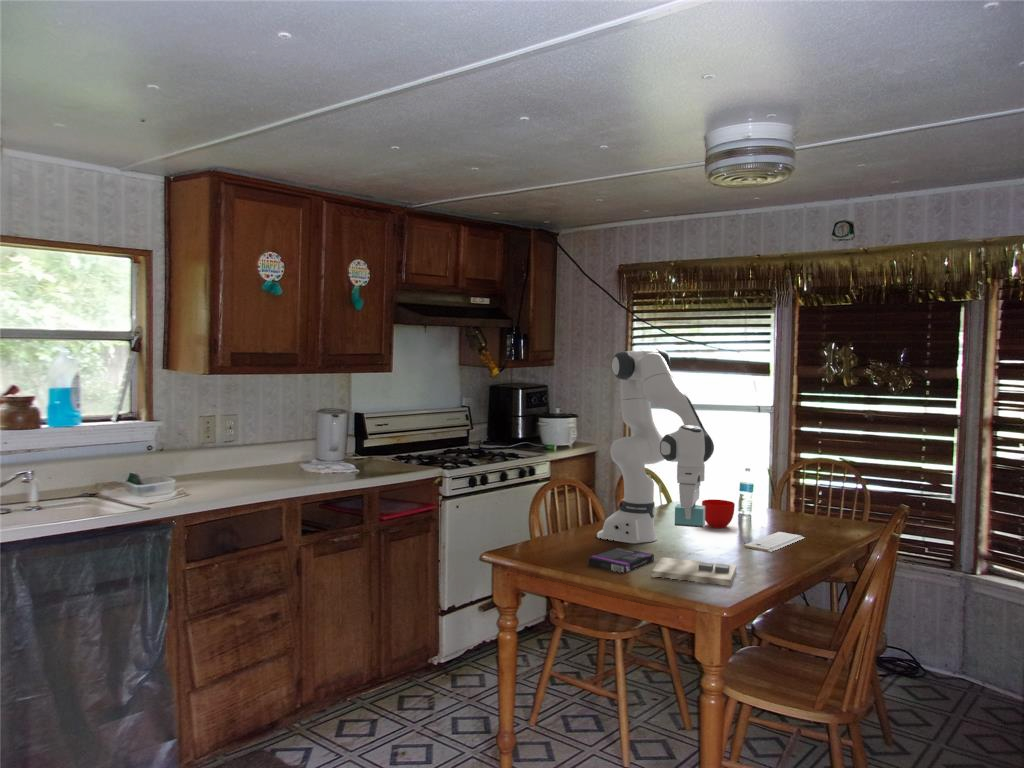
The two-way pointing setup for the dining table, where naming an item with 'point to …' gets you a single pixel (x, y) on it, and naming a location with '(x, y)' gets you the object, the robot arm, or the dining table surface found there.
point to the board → (692, 571)
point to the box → (620, 559)
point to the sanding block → (696, 516)
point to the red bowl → (718, 512)
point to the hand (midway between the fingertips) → (689, 516)
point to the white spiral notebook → (774, 541)
